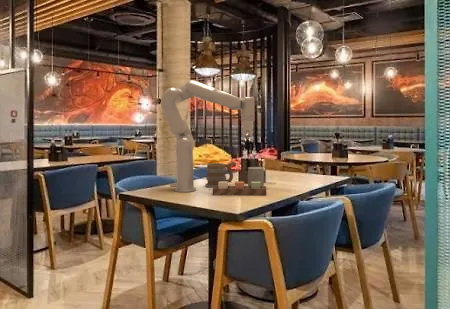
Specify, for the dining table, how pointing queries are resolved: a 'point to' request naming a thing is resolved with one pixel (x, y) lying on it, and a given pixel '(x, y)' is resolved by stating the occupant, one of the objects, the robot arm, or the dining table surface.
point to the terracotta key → (239, 184)
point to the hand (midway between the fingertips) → (247, 148)
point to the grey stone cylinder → (256, 175)
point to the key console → (239, 191)
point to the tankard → (218, 173)
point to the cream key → (223, 184)
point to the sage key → (255, 184)
